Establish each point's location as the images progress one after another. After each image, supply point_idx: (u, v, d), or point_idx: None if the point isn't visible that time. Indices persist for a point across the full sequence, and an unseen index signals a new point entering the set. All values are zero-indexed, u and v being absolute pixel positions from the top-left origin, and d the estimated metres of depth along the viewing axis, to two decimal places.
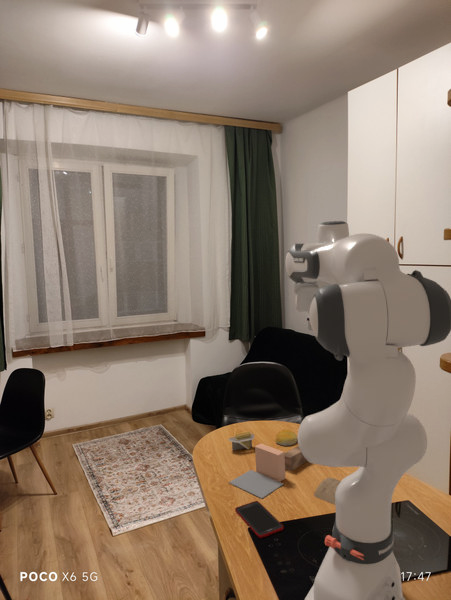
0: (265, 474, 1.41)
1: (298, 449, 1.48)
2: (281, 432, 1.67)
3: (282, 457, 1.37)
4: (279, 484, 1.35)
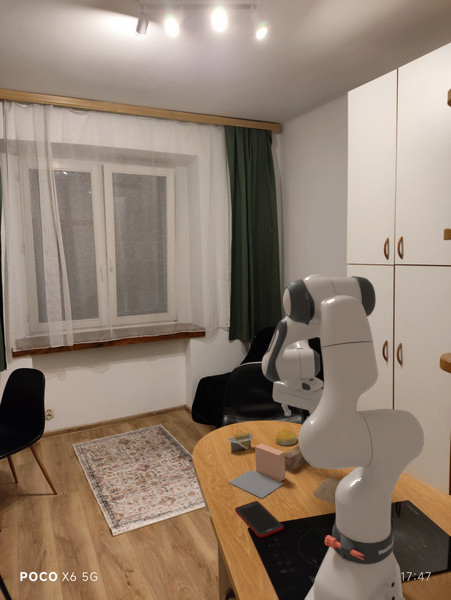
0: (265, 474, 1.41)
1: (298, 449, 1.48)
2: (281, 432, 1.67)
3: (282, 457, 1.37)
4: (279, 484, 1.35)
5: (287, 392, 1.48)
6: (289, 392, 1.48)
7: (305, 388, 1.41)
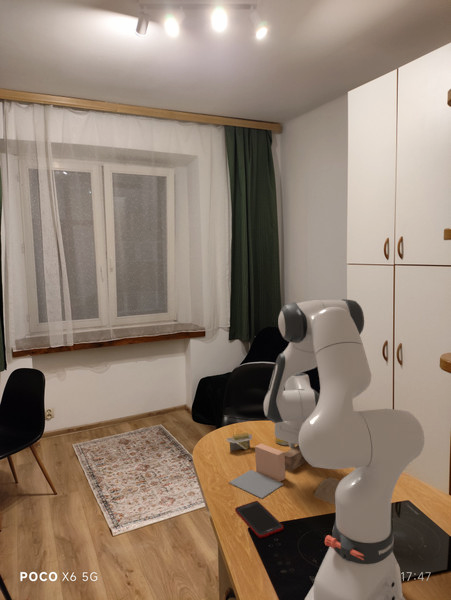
0: (265, 474, 1.41)
1: (298, 448, 1.48)
2: None
3: (282, 457, 1.37)
4: (279, 484, 1.35)
5: (289, 429, 1.50)
6: (291, 430, 1.49)
7: None
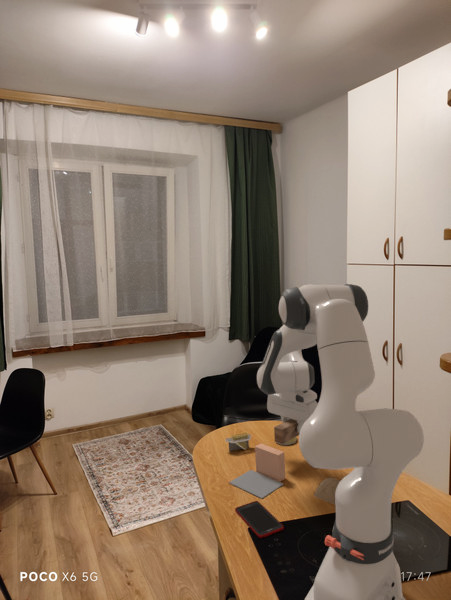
0: (265, 474, 1.41)
1: (290, 422, 1.48)
2: None
3: (282, 457, 1.37)
4: (279, 484, 1.35)
5: (281, 403, 1.50)
6: (283, 403, 1.49)
7: (299, 400, 1.42)
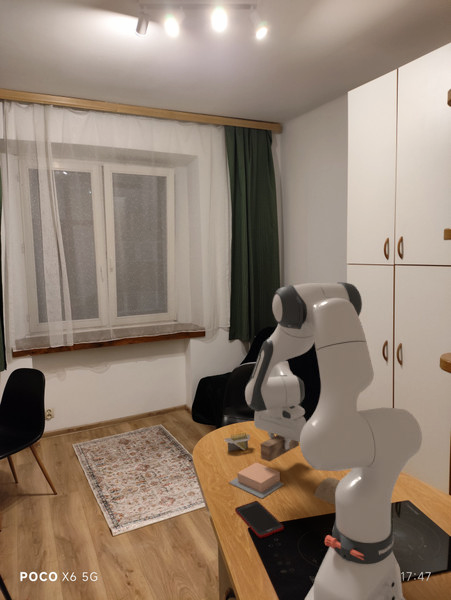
0: None
1: (278, 438, 1.43)
2: None
3: (264, 484, 1.31)
4: (279, 484, 1.35)
5: (268, 419, 1.44)
6: (270, 419, 1.44)
7: (285, 416, 1.37)
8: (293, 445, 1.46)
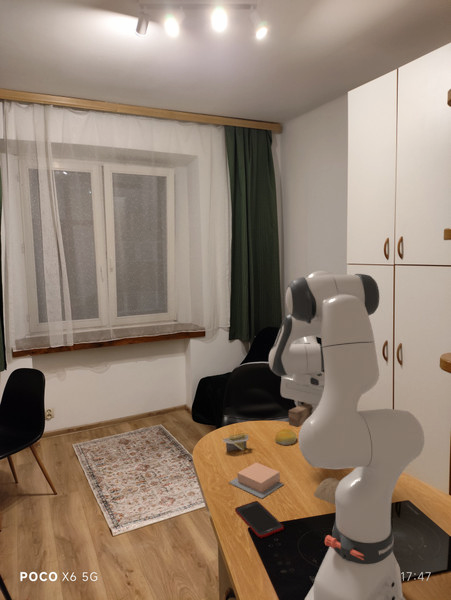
0: None
1: (305, 406, 1.47)
2: (280, 431, 1.68)
3: (264, 484, 1.31)
4: (279, 484, 1.35)
5: (295, 387, 1.48)
6: (297, 387, 1.48)
7: (313, 383, 1.40)
8: None
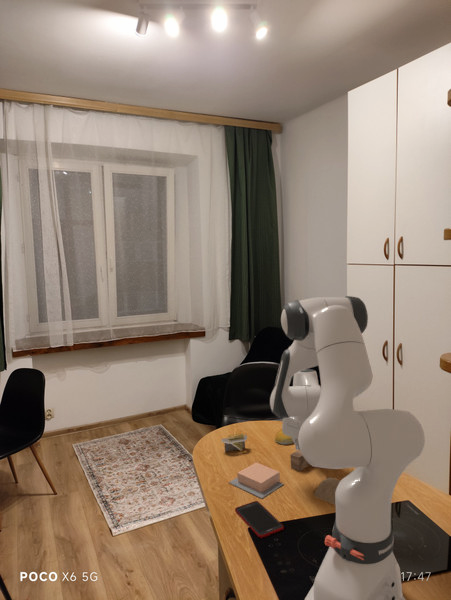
0: None
1: None
2: (280, 431, 1.68)
3: (264, 484, 1.31)
4: (279, 484, 1.35)
5: (297, 426, 1.49)
6: (299, 426, 1.49)
7: None
8: None
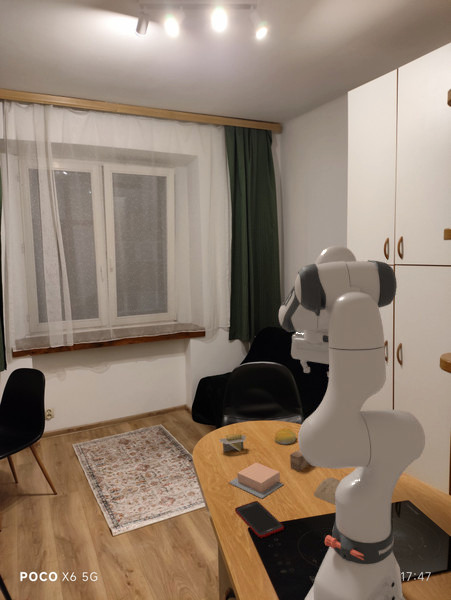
0: None
1: None
2: (280, 431, 1.68)
3: (264, 484, 1.31)
4: (279, 484, 1.35)
5: (307, 347, 1.45)
6: (309, 347, 1.45)
7: (326, 341, 1.37)
8: None
